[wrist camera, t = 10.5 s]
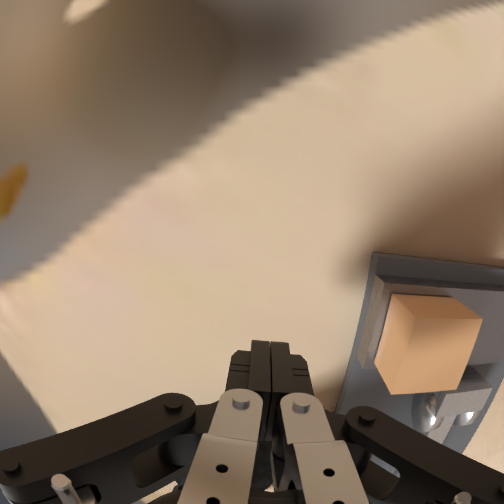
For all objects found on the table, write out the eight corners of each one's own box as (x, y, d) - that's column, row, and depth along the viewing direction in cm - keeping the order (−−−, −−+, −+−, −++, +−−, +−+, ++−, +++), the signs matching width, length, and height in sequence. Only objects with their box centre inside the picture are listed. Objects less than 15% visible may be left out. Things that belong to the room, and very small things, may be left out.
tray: (372, 252, 17) (378, 256, 16) (530, 270, 17) (538, 274, 16) (289, 528, 24) (289, 535, 23) (406, 516, 23) (408, 522, 22)
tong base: (375, 274, 16) (398, 296, 13) (511, 285, 16) (542, 302, 13) (293, 528, 22) (294, 554, 19) (392, 519, 22) (399, 541, 19)
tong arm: (423, 409, 17) (429, 418, 16) (457, 405, 17) (463, 413, 16) (346, 541, 20) (347, 548, 19) (373, 537, 20) (375, 544, 19)
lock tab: (391, 293, 15) (415, 317, 12) (453, 297, 15) (482, 318, 12) (374, 362, 16) (390, 394, 13) (433, 361, 16) (456, 389, 13)
